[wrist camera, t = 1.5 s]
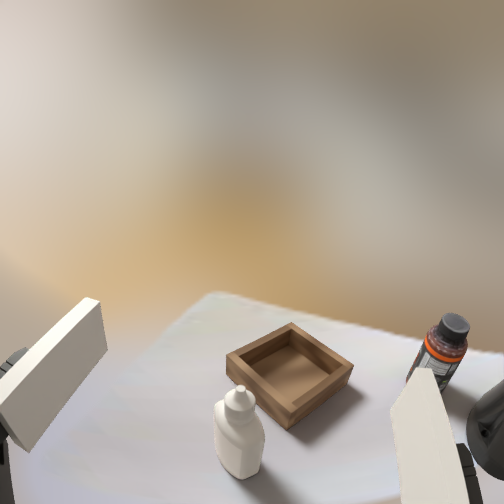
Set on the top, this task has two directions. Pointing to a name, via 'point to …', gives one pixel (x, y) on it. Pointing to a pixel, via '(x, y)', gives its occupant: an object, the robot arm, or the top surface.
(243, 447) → the eye dropper bottle
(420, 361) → the supplement bottle
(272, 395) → the holder
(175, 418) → the top surface
